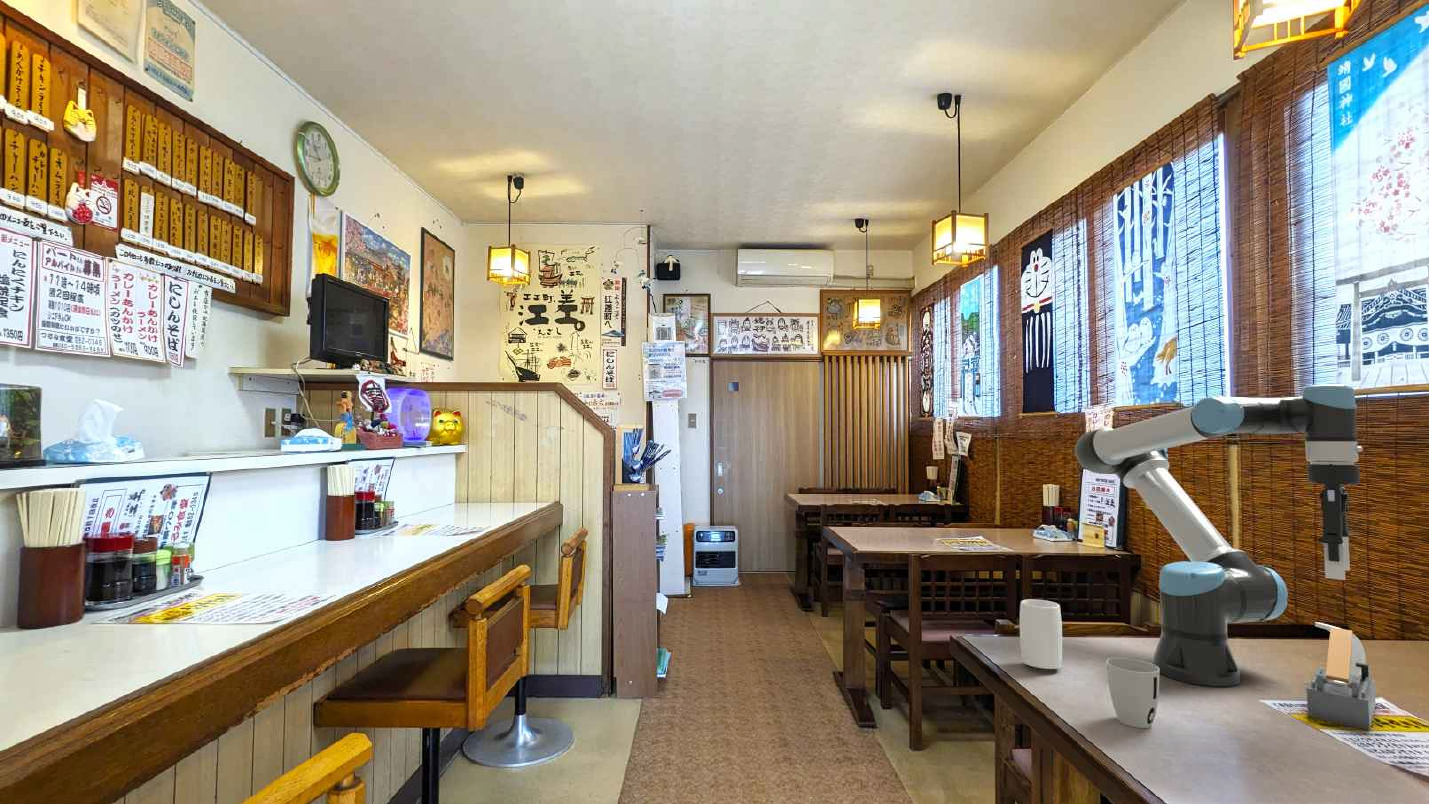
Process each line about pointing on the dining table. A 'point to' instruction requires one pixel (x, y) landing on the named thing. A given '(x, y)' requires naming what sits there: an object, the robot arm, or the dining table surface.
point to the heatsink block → (1342, 699)
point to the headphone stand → (1356, 651)
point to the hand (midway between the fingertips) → (1338, 574)
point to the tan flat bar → (1339, 655)
